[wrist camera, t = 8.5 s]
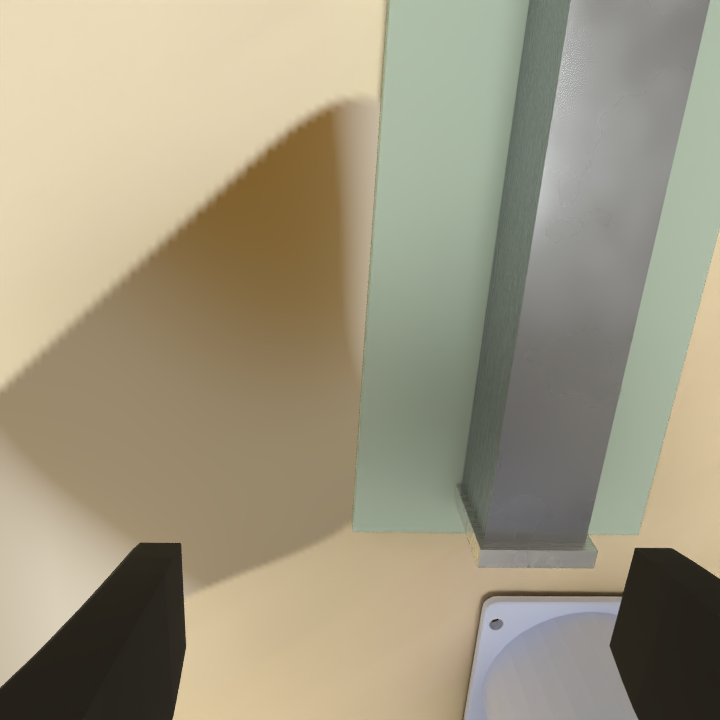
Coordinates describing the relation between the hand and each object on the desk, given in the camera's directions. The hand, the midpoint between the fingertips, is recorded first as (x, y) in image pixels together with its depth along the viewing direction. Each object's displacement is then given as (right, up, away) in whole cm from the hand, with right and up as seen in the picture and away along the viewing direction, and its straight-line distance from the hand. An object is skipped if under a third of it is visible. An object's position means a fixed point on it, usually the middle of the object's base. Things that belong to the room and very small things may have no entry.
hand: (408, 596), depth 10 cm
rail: (+5, +8, +8) cm, 12 cm away
